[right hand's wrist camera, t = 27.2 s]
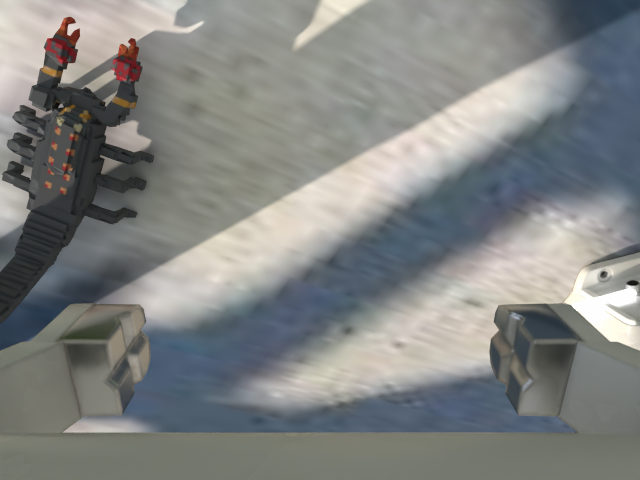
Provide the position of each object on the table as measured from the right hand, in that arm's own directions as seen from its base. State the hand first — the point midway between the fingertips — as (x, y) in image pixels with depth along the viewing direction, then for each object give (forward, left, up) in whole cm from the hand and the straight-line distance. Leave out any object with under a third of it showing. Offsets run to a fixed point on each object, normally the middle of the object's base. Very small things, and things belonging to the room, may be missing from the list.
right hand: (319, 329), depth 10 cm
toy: (+22, -9, -37) cm, 44 cm away
